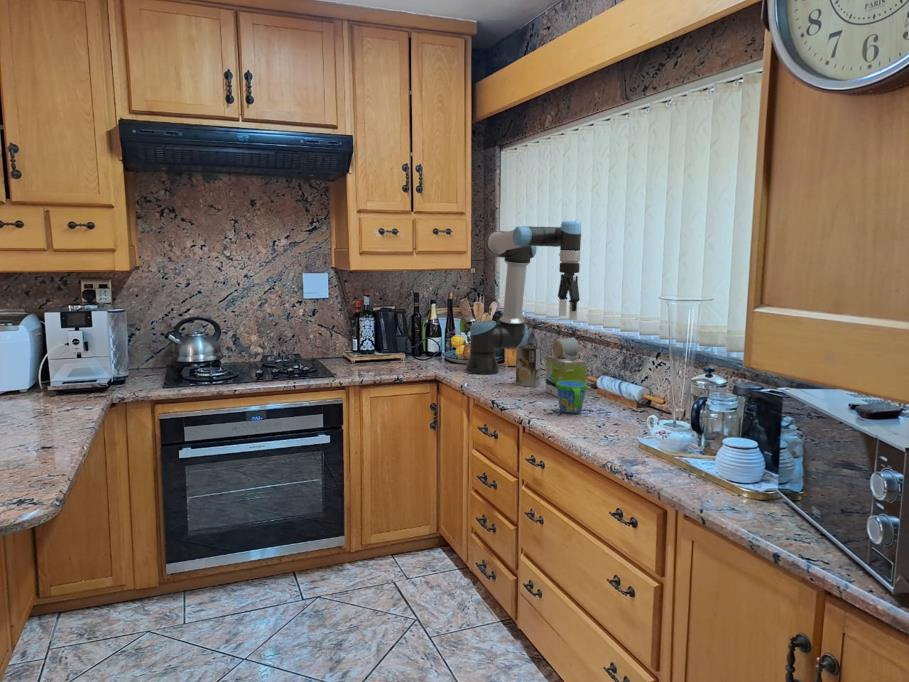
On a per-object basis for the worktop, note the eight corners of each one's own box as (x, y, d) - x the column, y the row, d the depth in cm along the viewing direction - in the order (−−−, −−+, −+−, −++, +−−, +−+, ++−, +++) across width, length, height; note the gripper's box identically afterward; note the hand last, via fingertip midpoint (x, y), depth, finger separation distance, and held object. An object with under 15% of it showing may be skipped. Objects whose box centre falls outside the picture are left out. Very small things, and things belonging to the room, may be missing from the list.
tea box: (544, 392, 266) (545, 355, 264) (566, 390, 269) (568, 354, 267) (562, 400, 252) (563, 361, 250) (585, 398, 255) (587, 360, 253)
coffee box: (540, 385, 279) (542, 347, 277) (535, 387, 274) (536, 349, 272) (520, 382, 284) (521, 345, 282) (514, 385, 278) (515, 347, 276)
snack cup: (590, 417, 225) (591, 388, 224) (559, 417, 225) (560, 387, 224) (580, 406, 241) (582, 379, 240) (551, 406, 241) (552, 378, 239)
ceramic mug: (551, 356, 261) (551, 337, 260) (569, 355, 264) (570, 336, 263) (565, 361, 251) (566, 341, 250) (583, 360, 254) (584, 340, 253)
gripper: (551, 261, 265) (549, 314, 268) (569, 263, 241) (567, 321, 244) (569, 261, 266) (567, 314, 269) (589, 263, 242) (587, 321, 245)
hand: (567, 317), depth 256 cm, fingers open, 13 cm apart
